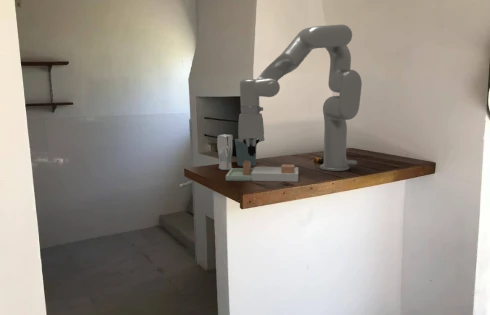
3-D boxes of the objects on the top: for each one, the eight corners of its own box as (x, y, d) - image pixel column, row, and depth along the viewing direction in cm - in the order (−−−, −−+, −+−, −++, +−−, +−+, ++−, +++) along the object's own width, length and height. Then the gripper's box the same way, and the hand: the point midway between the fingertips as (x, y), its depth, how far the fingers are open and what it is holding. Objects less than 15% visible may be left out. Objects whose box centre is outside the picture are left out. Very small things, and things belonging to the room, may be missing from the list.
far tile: (250, 160, 175) (244, 160, 175) (249, 163, 170) (243, 162, 170) (250, 172, 176) (244, 172, 176) (249, 175, 171) (243, 175, 171)
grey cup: (259, 166, 192) (259, 140, 190) (237, 167, 190) (237, 141, 188) (254, 162, 202) (253, 137, 200) (233, 163, 200) (233, 138, 198)
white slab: (298, 174, 174) (298, 167, 173) (298, 181, 161) (298, 174, 161) (254, 173, 176) (254, 166, 176) (251, 180, 163) (251, 173, 163)
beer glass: (221, 170, 183) (221, 136, 180) (215, 168, 189) (214, 134, 186) (236, 169, 186) (235, 135, 183) (229, 166, 192) (228, 133, 189)
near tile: (294, 170, 167) (294, 164, 166) (294, 173, 162) (294, 167, 162) (281, 170, 167) (281, 164, 167) (281, 173, 163) (281, 166, 162)
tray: (254, 173, 177) (254, 168, 177) (250, 181, 163) (250, 176, 162) (231, 172, 178) (231, 168, 178) (225, 180, 164) (225, 175, 163)
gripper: (269, 109, 171) (270, 153, 174) (233, 110, 173) (235, 154, 176) (268, 110, 164) (269, 157, 167) (230, 111, 166) (232, 157, 169)
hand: (251, 155), depth 172 cm, fingers closed
